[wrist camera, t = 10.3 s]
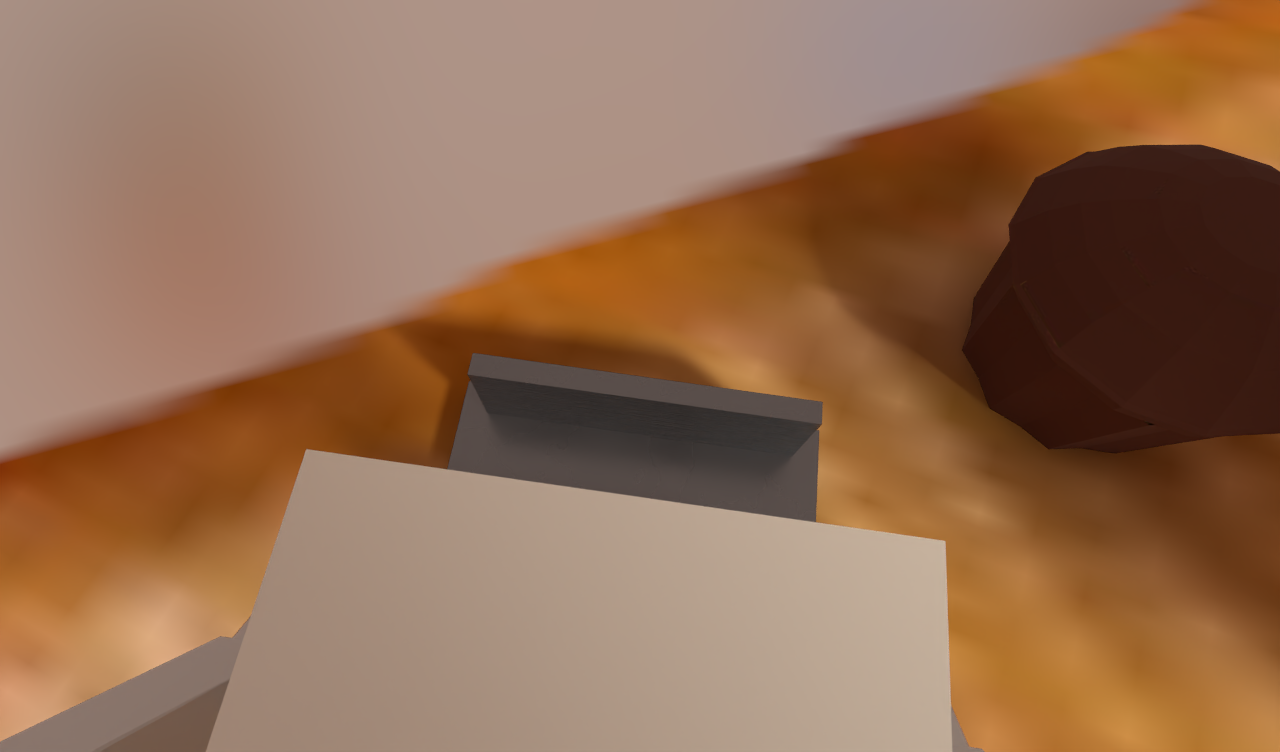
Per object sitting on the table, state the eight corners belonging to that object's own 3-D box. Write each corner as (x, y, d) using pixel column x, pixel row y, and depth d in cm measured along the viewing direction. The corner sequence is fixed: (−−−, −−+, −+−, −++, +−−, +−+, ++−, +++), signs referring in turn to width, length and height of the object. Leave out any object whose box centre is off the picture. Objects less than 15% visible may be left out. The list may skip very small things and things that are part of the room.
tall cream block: (497, 579, 15) (306, 449, 5) (731, 613, 15) (945, 540, 5) (465, 736, 13) (151, 914, 4) (718, 774, 13) (962, 1040, 4)
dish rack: (473, 390, 28) (446, 338, 24) (812, 438, 28) (852, 395, 23) (334, 962, 21) (256, 1048, 16) (787, 1032, 21) (837, 1140, 16)
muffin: (1208, 298, 31) (1459, 149, 22) (1190, 526, 27) (1488, 462, 18) (953, 213, 33) (1090, 38, 23) (901, 420, 29) (1040, 308, 19)
